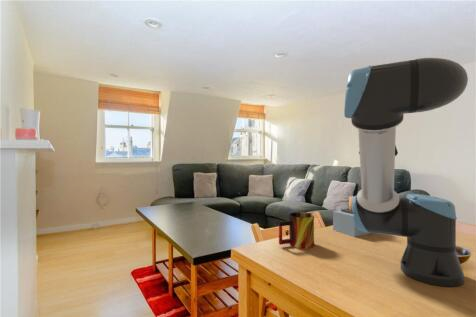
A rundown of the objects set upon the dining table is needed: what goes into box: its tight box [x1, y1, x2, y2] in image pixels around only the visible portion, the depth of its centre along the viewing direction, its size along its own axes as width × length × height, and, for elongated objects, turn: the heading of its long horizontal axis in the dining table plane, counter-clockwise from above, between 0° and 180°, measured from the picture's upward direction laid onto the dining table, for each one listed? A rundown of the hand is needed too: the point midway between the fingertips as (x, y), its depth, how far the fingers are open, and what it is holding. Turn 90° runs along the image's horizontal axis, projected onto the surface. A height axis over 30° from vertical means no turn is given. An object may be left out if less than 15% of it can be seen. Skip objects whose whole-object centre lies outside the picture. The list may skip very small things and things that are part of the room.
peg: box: [348, 196, 354, 211], centre depth 122 cm, size 4×4×10 cm
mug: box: [278, 211, 315, 250], centre depth 103 cm, size 10×14×12 cm
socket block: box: [332, 207, 372, 238], centre depth 122 cm, size 14×12×10 cm
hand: (379, 172), depth 104 cm, fingers open, 13 cm apart
